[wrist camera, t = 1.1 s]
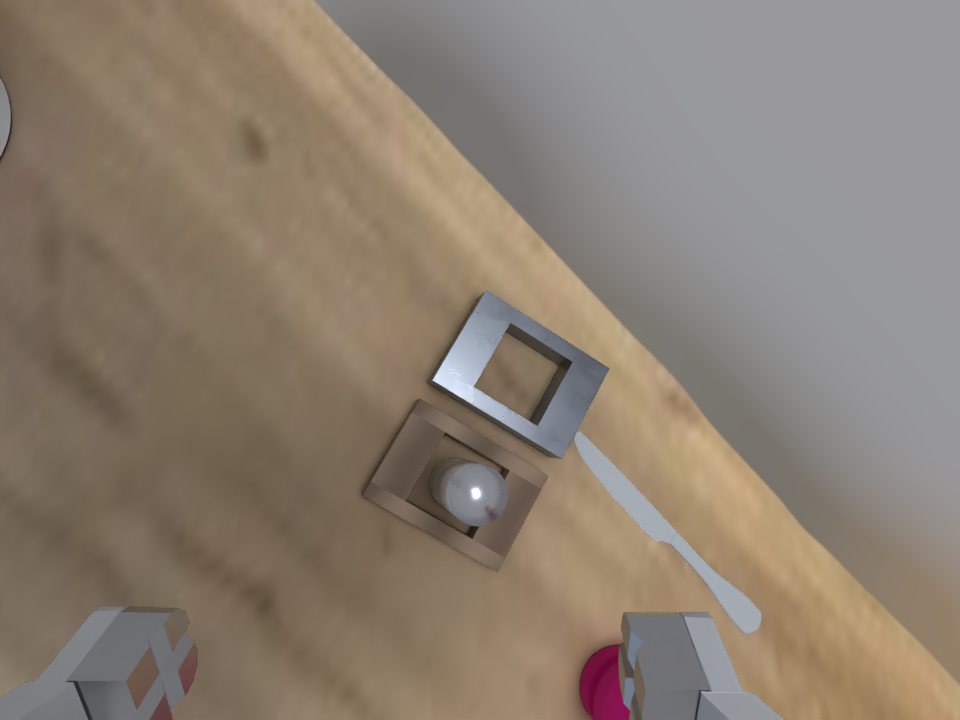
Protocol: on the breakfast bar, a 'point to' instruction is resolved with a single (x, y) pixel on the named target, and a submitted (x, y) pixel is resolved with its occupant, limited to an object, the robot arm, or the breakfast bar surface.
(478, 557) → the wooden picture frame
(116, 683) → the robot arm
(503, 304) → the socket block
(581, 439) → the butter knife
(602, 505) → the breakfast bar surface
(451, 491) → the steel axle
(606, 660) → the pepper mill
